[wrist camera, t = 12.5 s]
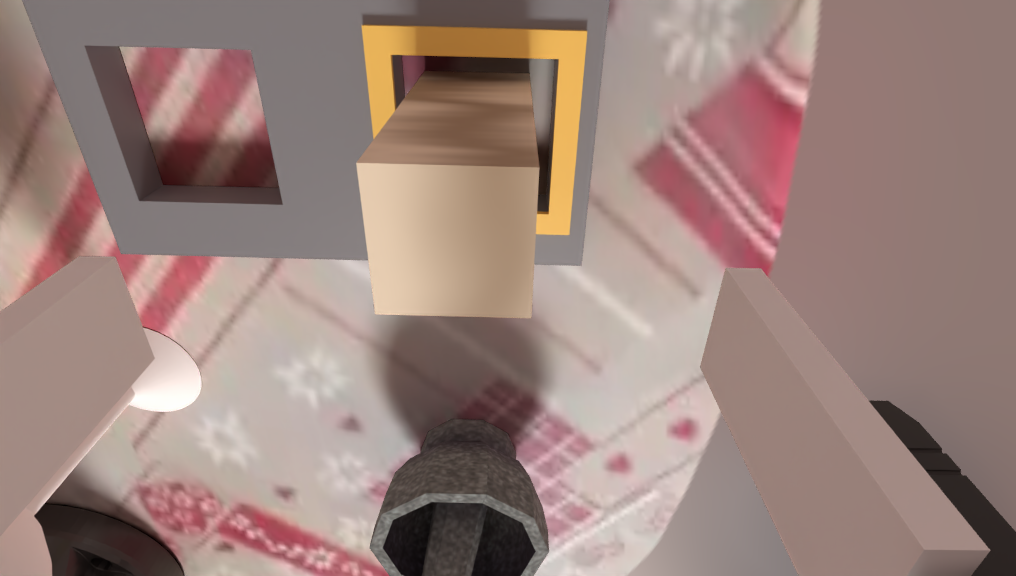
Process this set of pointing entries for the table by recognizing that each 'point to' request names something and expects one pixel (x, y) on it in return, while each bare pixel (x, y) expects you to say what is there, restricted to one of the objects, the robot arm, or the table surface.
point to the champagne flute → (161, 387)
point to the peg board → (310, 110)
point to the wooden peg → (454, 198)
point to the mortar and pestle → (462, 508)
